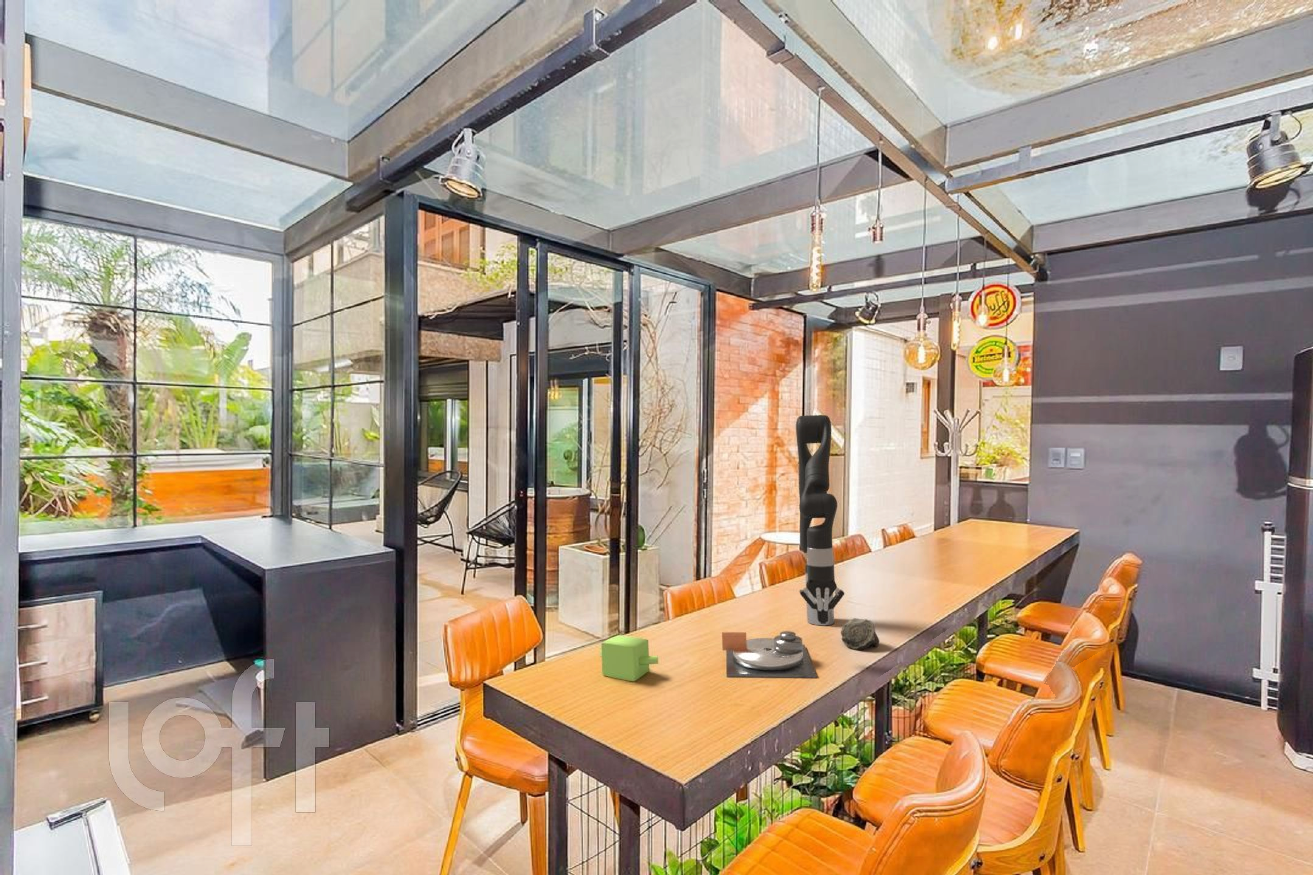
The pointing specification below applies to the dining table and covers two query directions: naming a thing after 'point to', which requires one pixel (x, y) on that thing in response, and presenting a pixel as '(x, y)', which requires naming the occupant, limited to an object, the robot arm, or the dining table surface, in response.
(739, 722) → the dining table surface
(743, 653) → the turntable
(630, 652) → the gearbox
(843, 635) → the fossil
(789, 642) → the cover
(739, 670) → the turntable base
